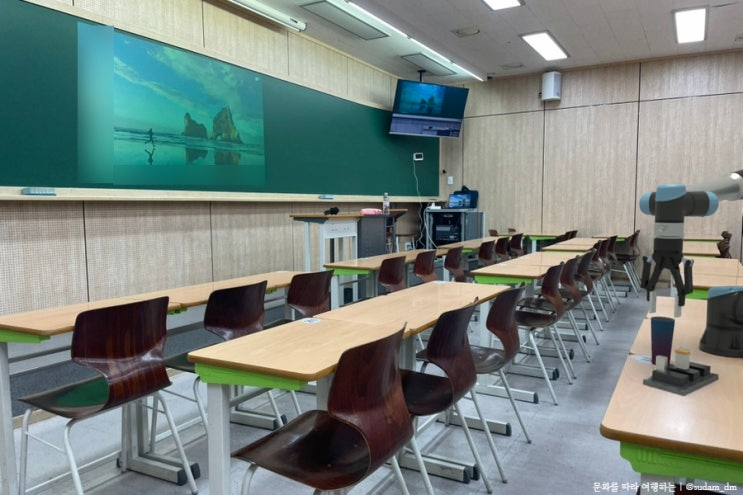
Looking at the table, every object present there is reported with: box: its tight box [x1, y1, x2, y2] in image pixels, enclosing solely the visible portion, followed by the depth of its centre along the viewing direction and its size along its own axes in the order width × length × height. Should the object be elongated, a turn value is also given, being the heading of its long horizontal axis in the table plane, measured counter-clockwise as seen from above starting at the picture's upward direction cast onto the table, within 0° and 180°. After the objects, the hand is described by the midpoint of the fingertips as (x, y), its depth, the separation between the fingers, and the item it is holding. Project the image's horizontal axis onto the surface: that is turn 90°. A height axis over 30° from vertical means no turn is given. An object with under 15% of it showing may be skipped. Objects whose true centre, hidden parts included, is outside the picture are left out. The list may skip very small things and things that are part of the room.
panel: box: [642, 346, 720, 397], centre depth 151 cm, size 22×11×8 cm, turn 126°
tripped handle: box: [674, 348, 691, 370], centre depth 150 cm, size 2×3×5 cm
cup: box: [650, 315, 676, 366], centre depth 167 cm, size 7×7×15 cm
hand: (664, 314), depth 154 cm, fingers open, 6 cm apart
